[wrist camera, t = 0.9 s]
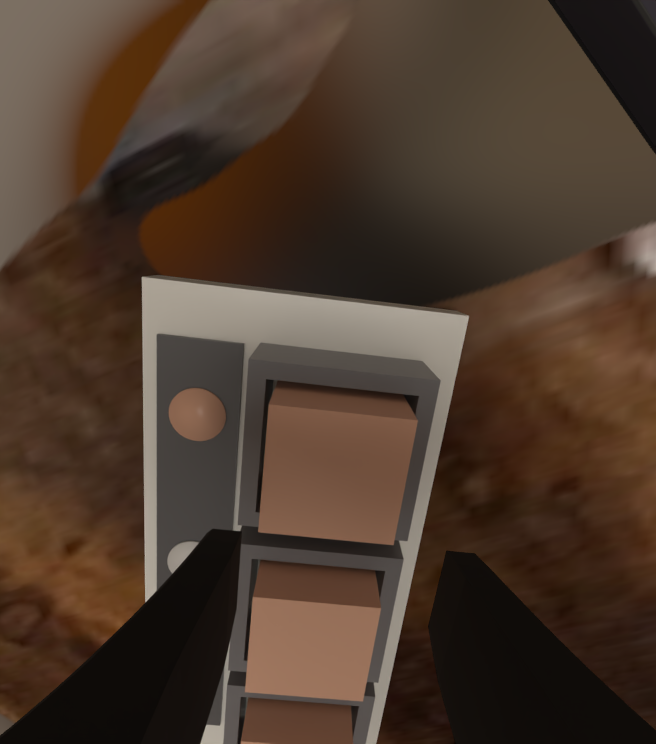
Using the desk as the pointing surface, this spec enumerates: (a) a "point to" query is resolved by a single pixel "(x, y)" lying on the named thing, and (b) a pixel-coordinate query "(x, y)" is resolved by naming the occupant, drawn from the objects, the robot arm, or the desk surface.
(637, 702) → the desk surface
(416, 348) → the button board
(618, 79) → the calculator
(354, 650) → the button middle
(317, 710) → the button far
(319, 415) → the button near
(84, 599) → the desk surface
